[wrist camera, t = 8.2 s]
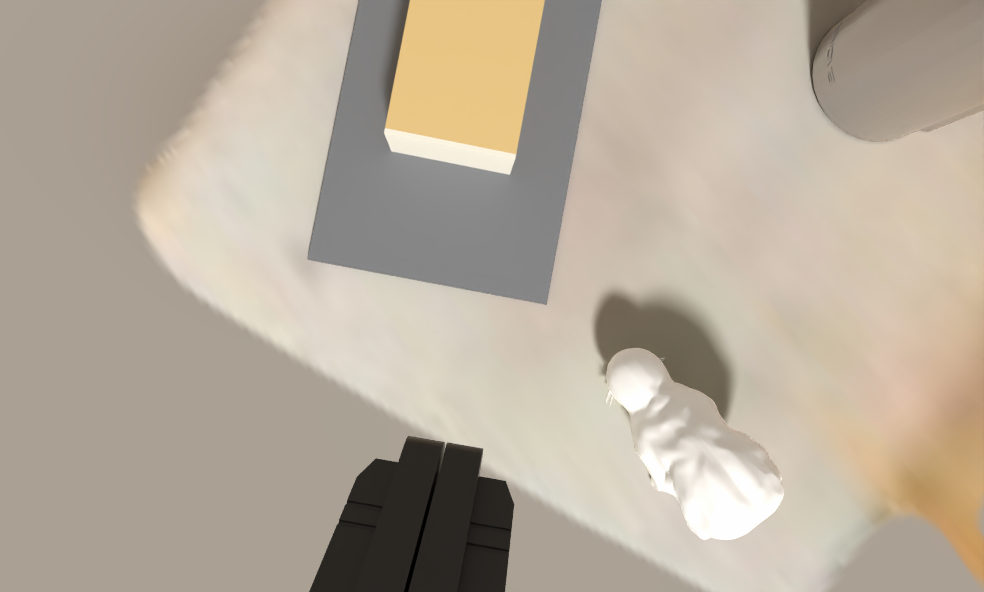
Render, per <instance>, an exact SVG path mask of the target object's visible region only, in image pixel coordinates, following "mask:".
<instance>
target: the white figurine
mask: <svg viewBox="0 0 984 592" xmlns="http://www.w3.org/2000/svg"><path fill="white" fill-rule="evenodd" d="M660 359H665V358H658V357H657V356H656V355H654V354H653V353H652V352H650V351H648V350H645V349H642V348H629V349H624V350H622V351H620V352H618V353H616V354H615V355H614V356H613V357H612V359H611V361H610V362H609V363H608V366H607V372H606V380H607V384H608V387H609V390H608V393H607V397H606V401H607V402H608V400H609V397H610V395H611V400H610V406H611V402H612V398H613V397H614V398H615V399H616V401H618V402H619V403H620V404H621V405H623V406H624V407H625V408H626V409H627V410H628V412H629V415H630V424H631V432H632V437H633V441H634V447H635V451H636V453H637V454H638V456H639V457H640V458H641V460H642V461H643V462H644V464H645V466H646V468H647V470H648V472H649V474H650V475H651V479H650V482H651V484H652V485H653V486H654V487H655V488H656V489H657V490H658V491H665V492H668V493H670V494H672V495H674V496H675V497H676V498H677V499H678V501H679V502H680V507H681V510H682V513H683V516H684V517H685V520H686V523H687V525H688V527H689V529H690V530H691V531H693V532H694V533H695V534H697V535H698V536H699V537H700V538H701V539H703V540H706V539H709V538H711V537H713V538H715V539H724V540H730V539H735V538H738V537H740V536H742V535H745V534H747V533H748V532H750V531H751V530H752V529H753V528H754V527H756V526H757V525H758V524H759V523H760V522H762V521H763V520H765V519H766V518H767V517H769V516H770V515H771V514H772V513H773V512H774V511H775V510H776V509H777V508H778V506H779V504H780V502H781V501H782V498H783V495H784V487H783V485H782V482H781V480H782V476H781V473H780V472H779V470H778V468H777V467H776V466H775V464H774V463H773V462H772V460H771V459H770V457H769V455H768V453H767V451H766V450H765V449H764V448H763V447H762V446H761V445H760V444H758V443H757V442H756V441H754V440H752V439H751V438H750V437H749V436H747V435H746V434H744V433H742V432H739V431H737V430H734V429H732V428H730V427H729V426H728V425H727V424H726V422H725V421H724V420H723V418H722V417H721V415H720V414H719V412H718V409H717V406H716V404H715V402H714V401H713V400H712V399H711V398H709V397H708V396H707V395H705V394H703V393H702V392H700V391H698V390H695V389H692V388H689V387H687V386H685V385H683V384H680V383H676V382H674V381H673V380H672V379H671V377H670V375H669V373H668V371H667V369H666V367H665V365H664V364H663V363H662V361H664V360H660ZM606 401H605V403H606ZM614 403H615V401H614Z"/></svg>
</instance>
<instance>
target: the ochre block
mask: <svg viewBox="0 0 984 592" xmlns="http://www.w3.org/2000/svg"><path fill="white" fill-rule="evenodd" d="M544 2H545V0H410V3H409V8H408V13H407V18H406V23H405V28H404V33H403V38H402V44H401V49H400V54H399V59H398V64H397V69H396V74H395V79H394V84H393V89H392V94H391V99H390V105H389V110H388V115H387V120H386V125H385V130H384V134H385V137H386V139H387V142H388V144H389V147H390V149H391V151H392V152H397V153H402V154H408V155H413V156H418V157H423V158H428V159H433V160H438V161H443V162H448V163H453V164H458V165H463V166H468V167H473V168H478V169H483V170H488V171H493V172H498V173H503V174H508V175H510V172H511V170H512V167H513V164H514V161H515V158H516V153H517V147H518V142H519V136H520V131H521V126H522V120H523V115H524V110H525V104H526V99H527V93H528V88H529V83H530V77H531V72H532V67H533V61H534V56H535V51H536V45H537V40H538V34H539V29H540V24H541V18H542V13H543V8H544Z"/></svg>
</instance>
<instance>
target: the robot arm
mask: <svg viewBox="0 0 984 592" xmlns="http://www.w3.org/2000/svg"><path fill="white" fill-rule="evenodd" d="M812 77H813V84H814V91H815V93H816V96H817V99H818V101H819V104H820V106H821V107H822V109H823V110H824V112H825V114H826V115H827V116H828V117H829V118H830V120H831V121H832V122H833V123H834V124H835V125H836V126H838V127H839V128H840V129H842V130H843V131H845V132H846V133H848V134H850V135H852V136H855V137H857V138H859V139H864V140H869V141H888V140H893V139H897V138H900V137H903V136H905V135H908V134H910V133H912V132H915V131H917V130H922V131H927V132H928V131H932V130H934V129H937V128H939V127H942V126H945V125H947V124H950V123H952V122H955V121H957V120H960V119H962V118H965V117H967V116H970V115H972V114H975V113H978V112H980V111H983V110H984V0H867V1H866V2H864V3H863V4H862V5H861V6H859V7H858V8H857V9H856V10H854V11H853V12H852V13H851V14H849V15H848V16H847V17H845V18H844V19H843V20H842V21H840V22H839V23H838V24H836V25H835V26H834V27H833V28H831V29H830V31H829V32H828V33H827V34H826V35H825V37H824V38H823V39H822V41H821V43H820V45H819V47H818V49H817V51H816V55H815V58H814V62H813V75H812ZM444 448H445V442H440V441H434V440H429V439H423V438H417V437H411V436H408V437H407V439H406V442H405V444H404V447H403V450H402V453H401V456H400V459H399V462H392V461H387V460H382V459H375V460H374V461H373V462H372V463H371V464H370V465H369V466H368V467H367V468H366V469H365V470H364V471H363V472H362V473H360V474H359V476H357V478H356V481H355V483H354V485H353V488H352V490H351V493H350V495H349V497H348V500H347V504H346V505H345V507H344V510H343V512H342V514H341V517H340V519H339V523H338V525H337V526H336V529H335V531H334V534H333V536H332V538H331V541H330V543H329V546H328V548H327V551H326V553H325V555H324V558H323V560H322V562H321V565H320V567H319V570H318V572H317V575H316V577H315V579H314V582H313V584H312V587H311V589H310V591H309V592H505V585H506V576H507V566H508V557H509V548H510V538H511V528H512V519H513V509H514V503H513V500H512V498H511V495H510V492H509V489H508V486H507V484H506V481H502V480H497V479H491V478H485V477H480V476H479V475H480V468H481V462H482V455H483V449H482V448H476V447H470V446H464V445H459V444H453V443H447V445H446V448H445V452H444Z"/></svg>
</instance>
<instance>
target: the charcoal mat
mask: <svg viewBox="0 0 984 592" xmlns="http://www.w3.org/2000/svg"><path fill="white" fill-rule="evenodd" d="M601 2H602V0H545V2H544V8H543V13H542V18H541V24H540V29H539V34H538V40H537V45H536V51H535V56H534V61H533V67H532V72H531V77H530V83H529V88H528V93H527V99H526V104H525V110H524V115H523V120H522V126H521V131H520V136H519V142H518V147H517V153H516V158H515V161H514V164H513V167H512V170H511V172H510V175H508V174H503V173H498V172H493V171H488V170H483V169H478V168H473V167H468V166H463V165H458V164H453V163H448V162H443V161H438V160H433V159H428V158H423V157H418V156H413V155H408V154H402V153H397V152H392V151H391V149H390V147H389V144H388V142H387V139H386V137H385V134H384V130H385V125H386V120H387V115H388V110H389V105H390V99H391V94H392V89H393V84H394V79H395V74H396V69H397V64H398V59H399V54H400V49H401V44H402V38H403V33H404V28H405V23H406V18H407V13H408V8H409V3H410V0H359V4H358V9H357V14H356V19H355V24H354V29H353V34H352V39H351V44H350V49H349V54H348V59H347V64H346V69H345V74H344V79H343V84H342V89H341V94H340V99H339V104H338V109H337V114H336V119H335V124H334V129H333V134H332V139H331V144H330V149H329V154H328V159H327V164H326V169H325V174H324V179H323V184H322V189H321V194H320V199H319V204H318V209H317V214H316V219H315V224H314V229H313V234H312V239H311V244H310V249H309V254H308V260H312V261H318V262H323V263H328V264H333V265H339V266H344V267H349V268H355V269H360V270H365V271H371V272H376V273H381V274H387V275H392V276H397V277H402V278H408V279H413V280H418V281H424V282H429V283H434V284H440V285H445V286H450V287H456V288H461V289H466V290H471V291H477V292H482V293H487V294H493V295H498V296H503V297H509V298H514V299H519V300H525V301H530V302H535V303H540V304H547V299H548V293H549V288H550V282H551V277H552V271H553V266H554V260H555V255H556V249H557V244H558V238H559V233H560V227H561V222H562V216H563V211H564V205H565V200H566V194H567V189H568V183H569V178H570V172H571V167H572V161H573V156H574V150H575V145H576V139H577V134H578V128H579V123H580V117H581V112H582V106H583V101H584V95H585V90H586V84H587V79H588V73H589V68H590V62H591V57H592V51H593V46H594V40H595V35H596V29H597V24H598V18H599V13H600V7H601Z"/></svg>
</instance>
